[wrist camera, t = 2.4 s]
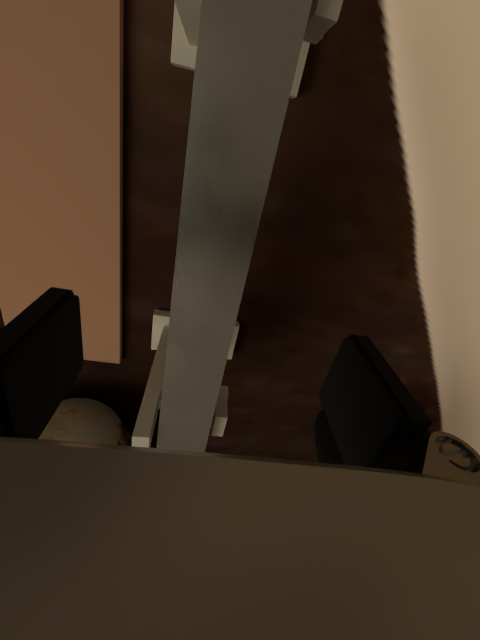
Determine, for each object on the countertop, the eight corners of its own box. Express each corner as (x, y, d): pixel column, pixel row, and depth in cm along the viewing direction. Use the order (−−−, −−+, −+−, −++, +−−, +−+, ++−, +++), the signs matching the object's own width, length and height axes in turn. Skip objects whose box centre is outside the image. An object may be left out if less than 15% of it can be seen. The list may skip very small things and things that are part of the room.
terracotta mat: (-108, -201, 13) (-125, -218, 13) (124, -116, 15) (119, -128, 14) (15, 346, 29) (10, 351, 29) (121, 358, 31) (119, 363, 30)
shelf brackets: (179, -26, 17) (103, -330, 6) (313, 18, 18) (460, -162, 7) (152, 343, 30) (114, 465, 19) (231, 353, 31) (237, 472, 20)
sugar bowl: (103, 343, 30) (17, 500, 17) (191, 424, 37) (177, 577, 24) (-27, 419, 34) (-171, 588, 21) (74, 478, 41) (11, 630, 29)
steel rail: (226, -154, 9) (229, -272, 7) (322, -114, 10) (362, -210, 7) (162, 421, 23) (155, 460, 20) (203, 425, 24) (201, 463, 21)
